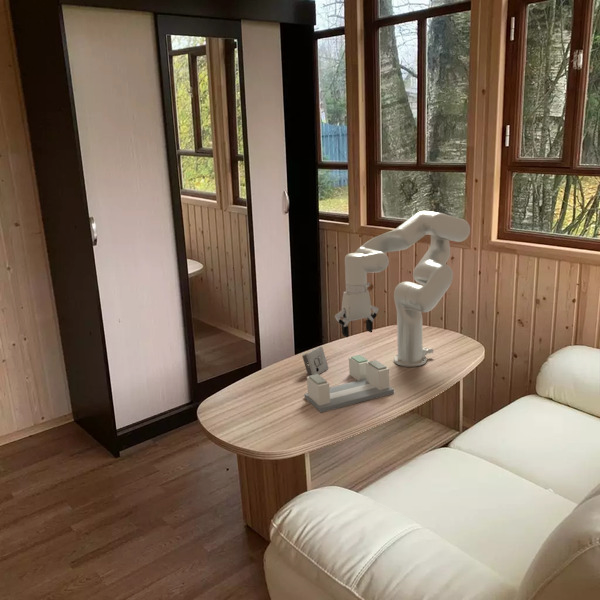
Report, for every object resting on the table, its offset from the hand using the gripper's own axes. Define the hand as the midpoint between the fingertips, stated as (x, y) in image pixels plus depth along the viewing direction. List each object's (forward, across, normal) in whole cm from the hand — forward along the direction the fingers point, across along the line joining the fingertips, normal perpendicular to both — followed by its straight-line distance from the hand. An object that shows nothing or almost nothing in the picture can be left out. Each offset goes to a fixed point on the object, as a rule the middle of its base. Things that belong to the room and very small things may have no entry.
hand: (357, 333), depth 219 cm
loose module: (+17, 0, 0) cm, 17 cm away
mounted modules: (+16, +11, +12) cm, 22 cm away
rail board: (+17, +10, +12) cm, 23 cm away
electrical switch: (+17, +12, -13) cm, 25 cm away
